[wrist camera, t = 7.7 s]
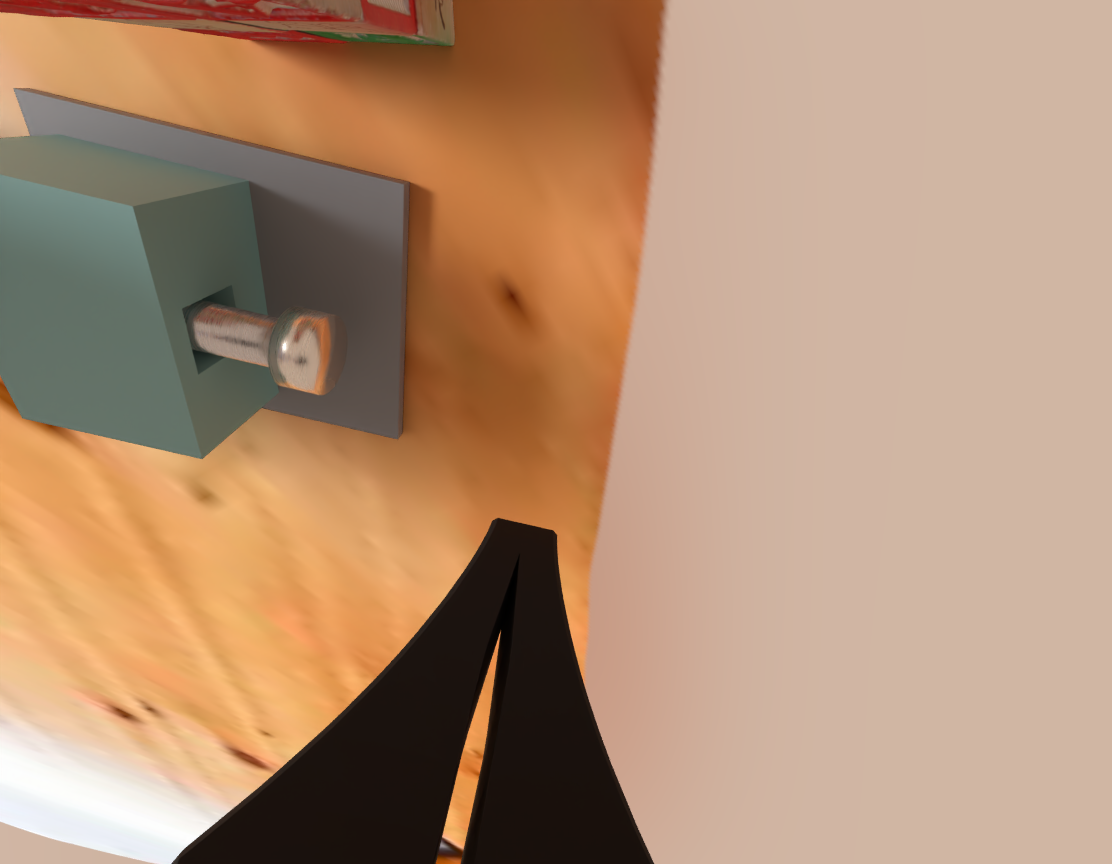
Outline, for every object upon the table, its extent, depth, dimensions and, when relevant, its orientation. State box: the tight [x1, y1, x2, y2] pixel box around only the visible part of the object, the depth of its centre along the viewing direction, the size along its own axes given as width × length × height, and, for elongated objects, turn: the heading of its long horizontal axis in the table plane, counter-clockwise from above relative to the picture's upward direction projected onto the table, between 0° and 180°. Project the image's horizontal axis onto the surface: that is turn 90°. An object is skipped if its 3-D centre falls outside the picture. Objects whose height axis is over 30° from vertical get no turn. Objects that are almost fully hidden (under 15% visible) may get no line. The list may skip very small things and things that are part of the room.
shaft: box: [182, 300, 348, 395], centre depth 16 cm, size 11×3×3 cm, turn 78°
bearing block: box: [0, 88, 410, 459], centre depth 16 cm, size 12×10×5 cm
